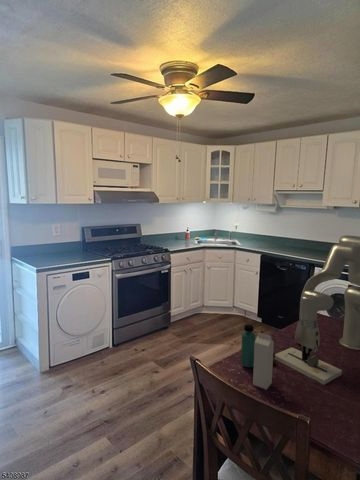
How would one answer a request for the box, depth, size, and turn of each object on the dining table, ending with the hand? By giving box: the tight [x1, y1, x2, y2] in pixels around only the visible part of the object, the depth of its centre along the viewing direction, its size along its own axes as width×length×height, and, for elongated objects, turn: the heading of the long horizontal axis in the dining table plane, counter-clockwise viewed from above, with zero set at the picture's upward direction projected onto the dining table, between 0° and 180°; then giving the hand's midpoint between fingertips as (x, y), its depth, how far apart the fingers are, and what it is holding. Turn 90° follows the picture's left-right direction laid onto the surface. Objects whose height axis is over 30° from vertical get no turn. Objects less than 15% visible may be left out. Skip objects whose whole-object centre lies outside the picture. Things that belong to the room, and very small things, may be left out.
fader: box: [307, 353, 320, 367], centre depth 143 cm, size 4×3×4 cm
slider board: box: [273, 347, 343, 386], centre depth 146 cm, size 14×26×2 cm, turn 35°
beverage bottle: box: [240, 323, 257, 368], centre depth 144 cm, size 6×7×20 cm
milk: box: [252, 332, 275, 391], centre depth 130 cm, size 6×6×22 cm
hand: (305, 359), depth 146 cm, fingers closed
